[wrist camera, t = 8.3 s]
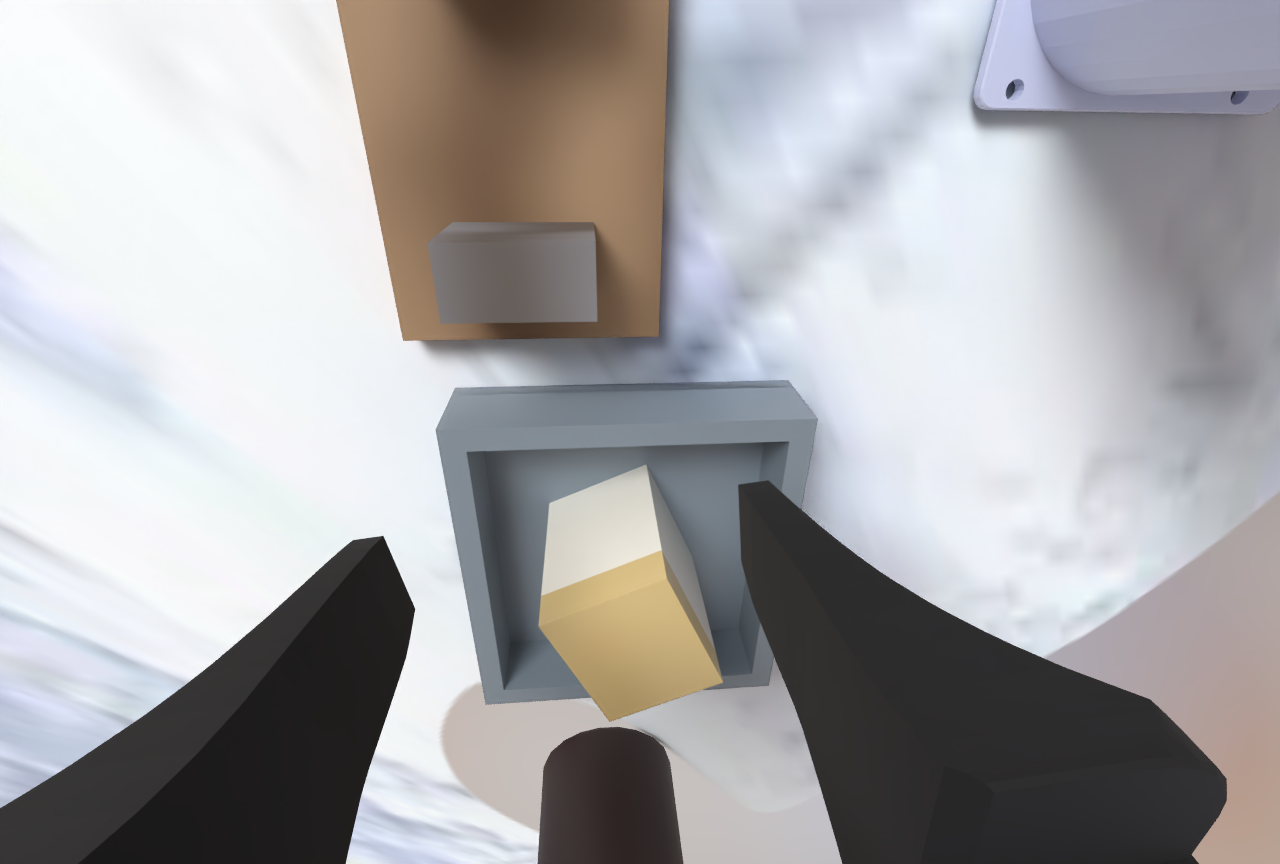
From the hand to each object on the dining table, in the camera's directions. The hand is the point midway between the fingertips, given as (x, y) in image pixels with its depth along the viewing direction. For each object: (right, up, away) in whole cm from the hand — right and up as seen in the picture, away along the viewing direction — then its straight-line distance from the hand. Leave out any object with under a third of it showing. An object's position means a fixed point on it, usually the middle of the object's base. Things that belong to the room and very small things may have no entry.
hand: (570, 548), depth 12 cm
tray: (+1, -2, +12) cm, 12 cm away
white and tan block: (+1, -2, +11) cm, 11 cm away
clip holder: (-2, +12, +4) cm, 12 cm away
